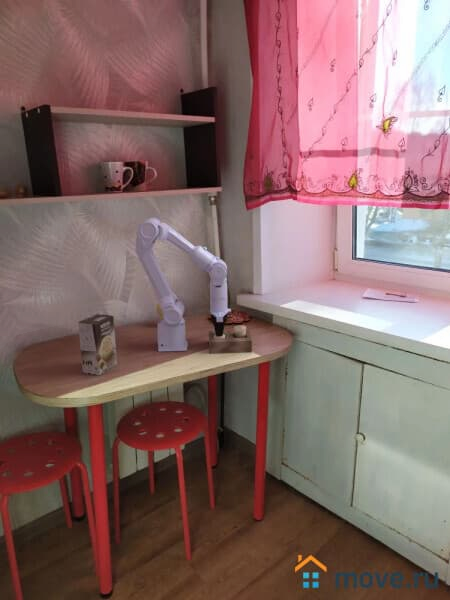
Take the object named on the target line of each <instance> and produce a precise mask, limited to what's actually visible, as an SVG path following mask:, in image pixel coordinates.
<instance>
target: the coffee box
mask: <svg viewBox="0 0 450 600" xmlns="http://www.w3.org/2000/svg"><path fill="white" fill-rule="evenodd" d="M114 320H115V318H114V315H111V314H110V315H109V314H98V313H96V314H94V315H92V316H90V317H89V316H88V317H86V318H85V319H82V320H79V321H78V322H77V323H78V325H77V326H78V332H79V334H78V335H79V345H80V346H79V347H80V354H81V355H80V357H81V367H82V368H81V369H82V373H83V372H84V374H88V373H90V374H89V375H93V374H96V375H95V376H101V375H103V374H104V373H106V372H107V371H109V370H110V368H111V369H112V368H113V366H114V367H116V366H117V365H118V359H117V349H116V348H117V347H116V332H115V321H114ZM105 371H106V372H105ZM102 373H103V374H102Z"/></svg>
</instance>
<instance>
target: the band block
mask: <svg viewBox="0 0 450 600" xmlns="http://www.w3.org/2000/svg"><path fill="white" fill-rule="evenodd" d="M223 334H224V335H225V338H217V339H213V336H214V335H215V330H208V345H209V346H208V350H209V354H211V355H213V354H241V353H245V354H247V353H252V352H253V340H252V336H251V333H250V329H246V338H234V329H231V330H229V329H228V330H225V329H224V331H223Z"/></svg>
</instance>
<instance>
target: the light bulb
mask: <svg viewBox="0 0 450 600" xmlns="http://www.w3.org/2000/svg"><path fill="white" fill-rule="evenodd" d="M155 309H156V314H157V316H158V317H159V318H160V323H162V322H164V319H163V311H162V309H161V306H160V302H159V303H158V304H157V306H156V308H155Z"/></svg>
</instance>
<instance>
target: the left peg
mask: <svg viewBox="0 0 450 600" xmlns="http://www.w3.org/2000/svg"><path fill="white" fill-rule="evenodd" d="M217 338H225V335H224V334H223V336H216V334H215V335H214V336H213V339H217Z"/></svg>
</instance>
